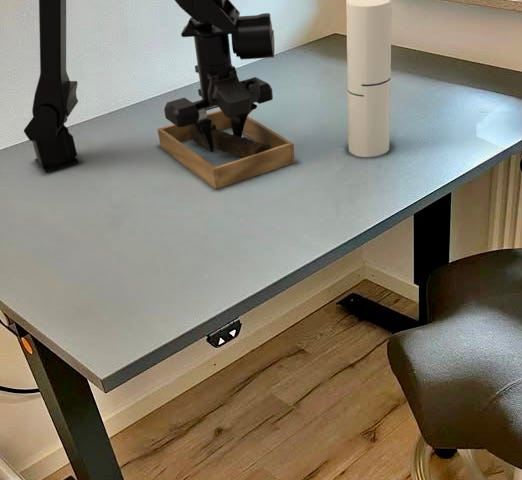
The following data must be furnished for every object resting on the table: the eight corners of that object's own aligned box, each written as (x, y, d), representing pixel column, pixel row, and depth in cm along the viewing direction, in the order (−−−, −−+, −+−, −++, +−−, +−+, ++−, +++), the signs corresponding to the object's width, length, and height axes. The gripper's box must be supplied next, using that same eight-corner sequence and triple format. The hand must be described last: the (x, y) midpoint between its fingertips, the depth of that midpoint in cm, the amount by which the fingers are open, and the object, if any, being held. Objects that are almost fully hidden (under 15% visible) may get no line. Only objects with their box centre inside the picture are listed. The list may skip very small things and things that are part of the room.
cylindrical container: (387, 157, 137) (390, 5, 122) (346, 156, 139) (343, 7, 124) (390, 140, 143) (393, -8, 127) (351, 139, 144) (348, -6, 129)
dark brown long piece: (273, 162, 140) (271, 137, 137) (256, 170, 138) (254, 145, 135) (203, 137, 151) (200, 113, 148) (187, 144, 149) (184, 120, 146)
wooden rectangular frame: (215, 189, 133) (213, 169, 131) (160, 147, 149) (157, 128, 147) (295, 162, 139) (294, 143, 137) (233, 124, 155) (231, 106, 152)
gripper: (185, 87, 125) (198, 178, 134) (286, 58, 131) (292, 147, 141) (156, 69, 132) (170, 156, 142) (252, 43, 139) (260, 128, 149)
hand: (224, 147), depth 143 cm, fingers open, 5 cm apart
